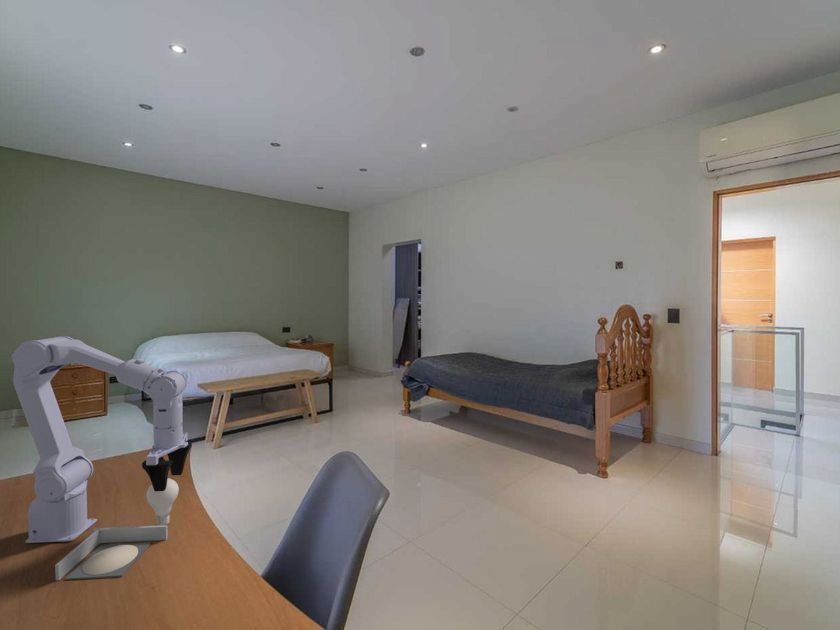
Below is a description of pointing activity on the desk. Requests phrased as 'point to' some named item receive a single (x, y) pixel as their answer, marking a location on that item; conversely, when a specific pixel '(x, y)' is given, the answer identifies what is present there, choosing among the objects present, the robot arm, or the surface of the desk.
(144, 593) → the desk surface
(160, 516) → the lightbulb
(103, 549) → the mat
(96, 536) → the acrylic fence
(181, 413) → the robot arm
